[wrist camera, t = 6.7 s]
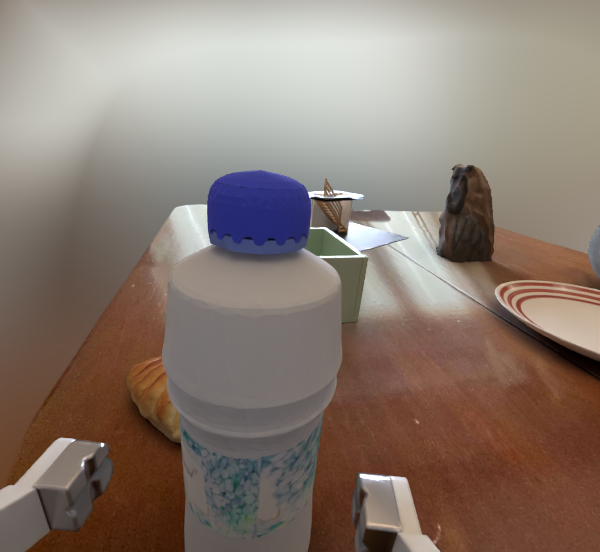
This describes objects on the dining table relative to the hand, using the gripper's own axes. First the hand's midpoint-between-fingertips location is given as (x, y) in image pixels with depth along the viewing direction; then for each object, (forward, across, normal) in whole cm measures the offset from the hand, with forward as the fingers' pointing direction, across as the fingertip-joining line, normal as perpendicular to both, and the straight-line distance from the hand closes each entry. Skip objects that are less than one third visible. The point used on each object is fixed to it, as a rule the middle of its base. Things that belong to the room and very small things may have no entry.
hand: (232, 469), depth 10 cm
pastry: (+13, +8, +11) cm, 19 cm away
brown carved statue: (+67, -37, +11) cm, 77 cm away
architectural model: (+76, -6, +11) cm, 77 cm away
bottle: (+3, 0, +11) cm, 12 cm away
